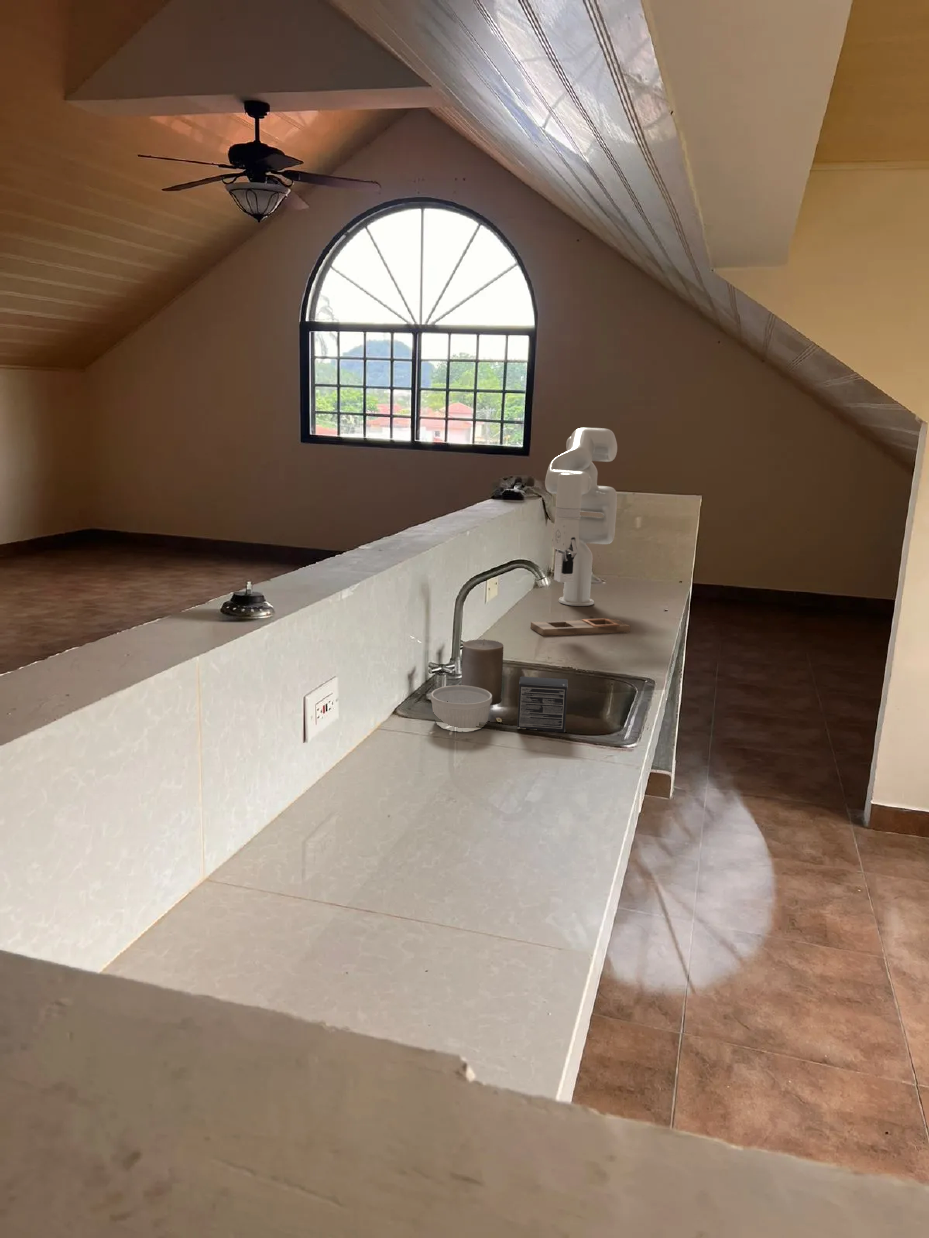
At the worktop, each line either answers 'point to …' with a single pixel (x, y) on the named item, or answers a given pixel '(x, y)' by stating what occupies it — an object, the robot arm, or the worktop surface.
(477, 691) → the ramekin
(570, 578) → the grey square block
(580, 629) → the tan flat board
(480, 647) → the pillar candle
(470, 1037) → the worktop surface
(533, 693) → the small box
